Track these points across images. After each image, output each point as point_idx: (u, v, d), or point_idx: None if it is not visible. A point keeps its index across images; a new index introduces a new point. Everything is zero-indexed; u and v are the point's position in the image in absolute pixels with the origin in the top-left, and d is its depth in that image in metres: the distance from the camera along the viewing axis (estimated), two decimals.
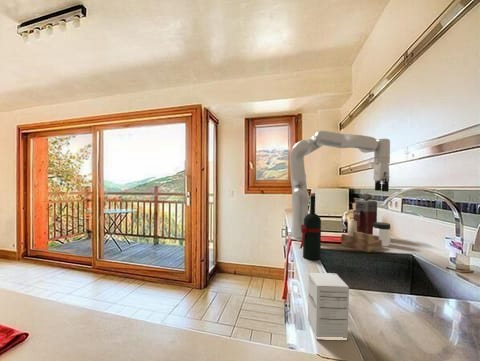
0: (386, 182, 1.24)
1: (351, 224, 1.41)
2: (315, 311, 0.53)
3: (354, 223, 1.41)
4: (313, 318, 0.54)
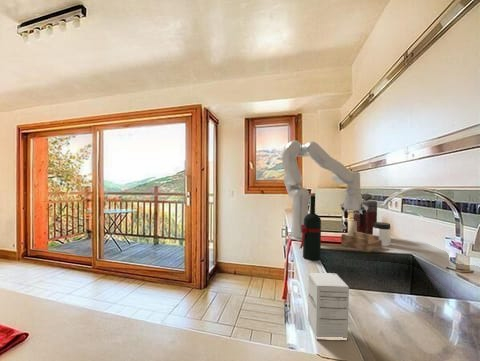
0: (364, 212, 1.37)
1: (351, 224, 1.41)
2: (315, 311, 0.53)
3: (354, 223, 1.41)
4: (313, 318, 0.54)
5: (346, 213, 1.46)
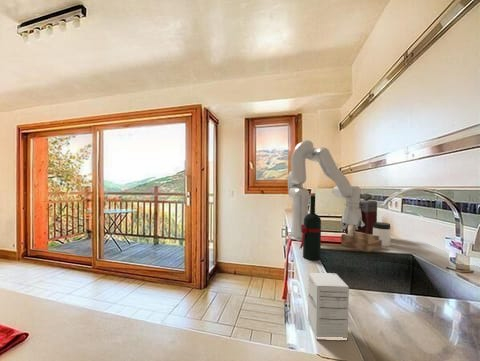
0: (359, 228, 1.39)
1: (351, 224, 1.41)
2: (315, 311, 0.53)
3: None
4: (313, 318, 0.54)
5: None
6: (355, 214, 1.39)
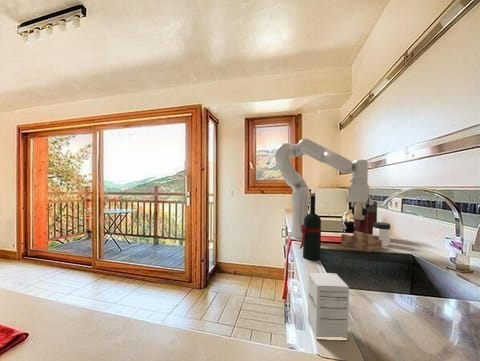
0: (368, 206, 1.24)
1: None
2: (315, 311, 0.53)
3: None
4: (313, 318, 0.54)
5: None
6: (363, 191, 1.24)
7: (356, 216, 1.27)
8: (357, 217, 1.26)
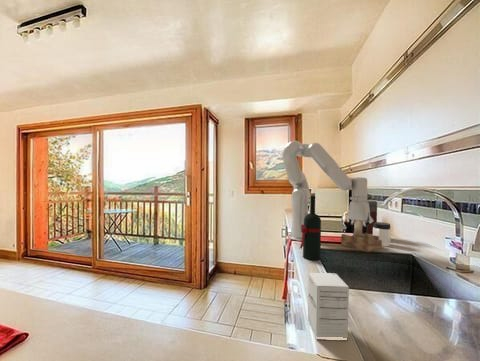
0: (367, 224, 1.24)
1: (358, 220, 1.26)
2: (315, 311, 0.53)
3: None
4: (313, 318, 0.54)
5: None
6: (362, 209, 1.24)
7: (356, 234, 1.27)
8: (357, 235, 1.26)
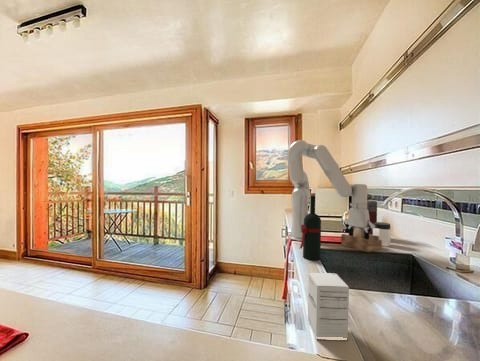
0: None
1: (357, 229, 1.26)
2: (315, 311, 0.53)
3: (361, 228, 1.26)
4: (313, 318, 0.54)
5: (351, 231, 1.31)
6: (362, 216, 1.24)
7: None
8: None
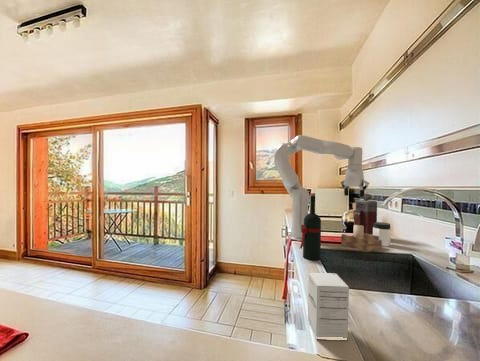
0: (365, 188, 1.33)
1: (357, 229, 1.26)
2: (315, 311, 0.53)
3: (360, 228, 1.25)
4: (313, 318, 0.54)
5: (346, 190, 1.43)
6: (357, 175, 1.35)
7: None
8: None
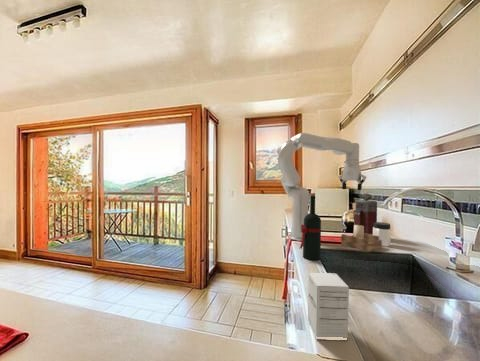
0: (362, 182, 1.40)
1: (357, 229, 1.26)
2: (315, 311, 0.53)
3: (361, 228, 1.25)
4: (313, 318, 0.54)
5: (344, 184, 1.49)
6: (354, 170, 1.41)
7: None
8: None
